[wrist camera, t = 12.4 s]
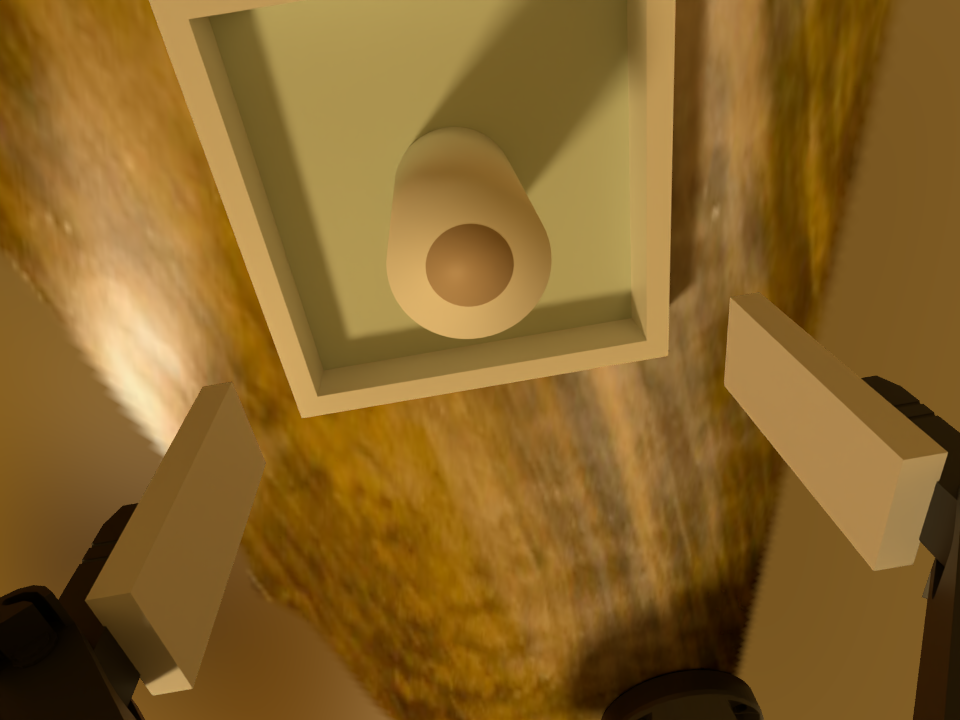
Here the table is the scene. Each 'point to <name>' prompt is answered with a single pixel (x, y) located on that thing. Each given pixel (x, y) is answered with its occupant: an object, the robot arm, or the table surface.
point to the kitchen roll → (464, 237)
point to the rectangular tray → (386, 137)
